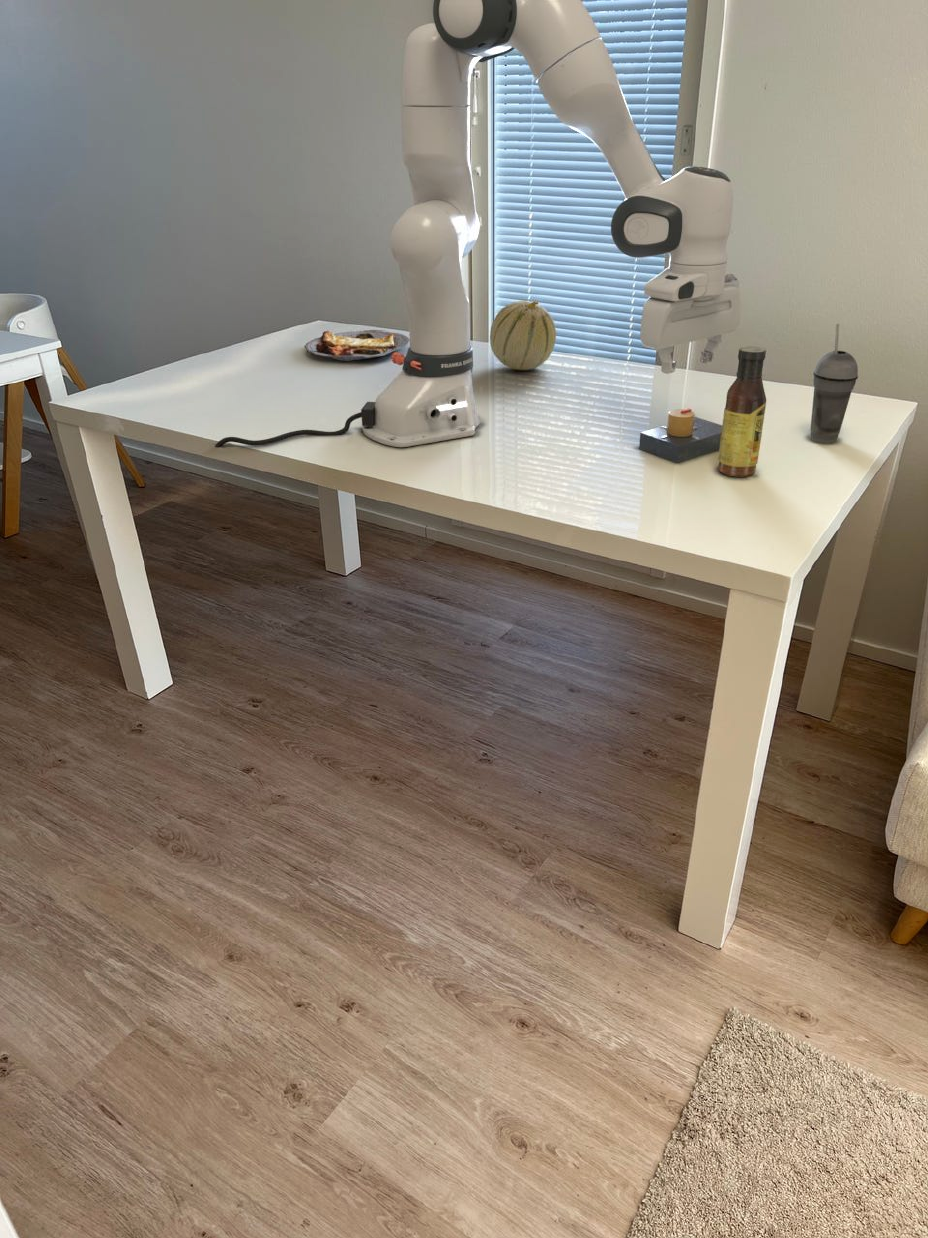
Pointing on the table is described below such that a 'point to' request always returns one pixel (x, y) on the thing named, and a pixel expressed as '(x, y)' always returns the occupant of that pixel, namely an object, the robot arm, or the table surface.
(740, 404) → the sauce bottle
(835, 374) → the beverage cup
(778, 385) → the table surface
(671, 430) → the tan cylinder
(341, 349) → the food plate
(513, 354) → the cantaloupe
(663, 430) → the grey dial panel
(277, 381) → the table surface
